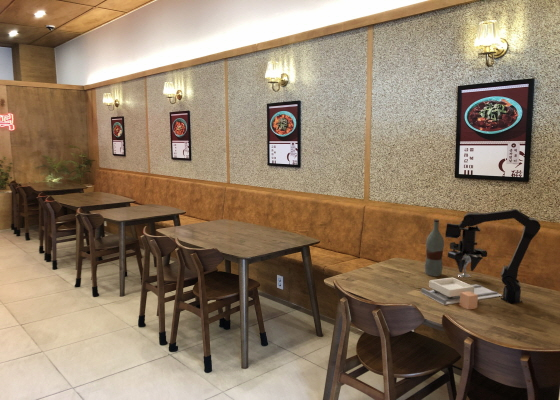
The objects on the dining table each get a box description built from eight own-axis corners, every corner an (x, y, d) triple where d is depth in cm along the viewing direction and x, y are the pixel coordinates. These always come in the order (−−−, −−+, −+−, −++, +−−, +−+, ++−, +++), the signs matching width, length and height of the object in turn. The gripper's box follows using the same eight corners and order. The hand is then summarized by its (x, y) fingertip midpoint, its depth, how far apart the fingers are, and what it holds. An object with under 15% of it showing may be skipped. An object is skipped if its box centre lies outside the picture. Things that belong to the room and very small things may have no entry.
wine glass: (474, 278, 233) (477, 250, 230) (459, 278, 233) (461, 250, 231) (468, 273, 241) (470, 246, 238) (454, 273, 241) (456, 246, 238)
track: (502, 296, 207) (502, 291, 207) (443, 304, 196) (444, 300, 195) (476, 285, 222) (477, 280, 222) (420, 292, 210) (421, 288, 210)
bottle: (421, 271, 243) (424, 218, 239) (436, 270, 245) (439, 218, 240) (429, 277, 234) (433, 221, 230) (445, 276, 236) (449, 221, 231)
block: (476, 308, 193) (478, 295, 192) (467, 309, 191) (468, 296, 190) (468, 304, 197) (469, 291, 196) (459, 305, 195) (460, 292, 195)
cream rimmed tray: (473, 297, 202) (474, 286, 202) (449, 300, 198) (449, 290, 197) (452, 287, 215) (452, 277, 215) (428, 290, 211) (429, 280, 210)
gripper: (471, 234, 216) (469, 265, 219) (440, 237, 210) (438, 268, 212) (489, 239, 206) (486, 271, 208) (457, 242, 199) (455, 275, 202)
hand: (466, 271), depth 208 cm, fingers open, 6 cm apart
